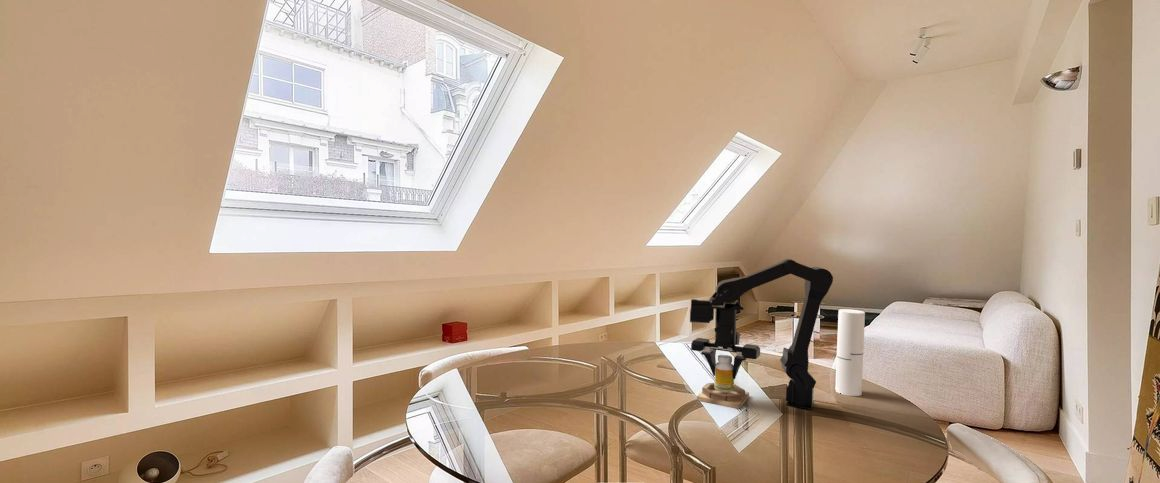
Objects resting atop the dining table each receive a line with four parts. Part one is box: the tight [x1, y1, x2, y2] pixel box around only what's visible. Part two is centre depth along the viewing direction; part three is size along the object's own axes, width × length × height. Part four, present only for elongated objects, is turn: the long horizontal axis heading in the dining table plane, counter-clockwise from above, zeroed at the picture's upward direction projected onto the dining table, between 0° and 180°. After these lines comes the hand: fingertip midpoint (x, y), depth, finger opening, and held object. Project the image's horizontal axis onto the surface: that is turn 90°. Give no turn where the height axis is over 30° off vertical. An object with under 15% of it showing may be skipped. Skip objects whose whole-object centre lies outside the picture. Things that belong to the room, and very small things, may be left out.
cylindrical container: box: [834, 308, 866, 397], centre depth 157 cm, size 7×7×25 cm
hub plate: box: [696, 382, 750, 410], centre depth 150 cm, size 12×12×3 cm
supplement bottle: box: [714, 354, 735, 392], centre depth 150 cm, size 5×5×10 cm
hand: (724, 377), depth 150 cm, fingers closed on supplement bottle, 5 cm apart
